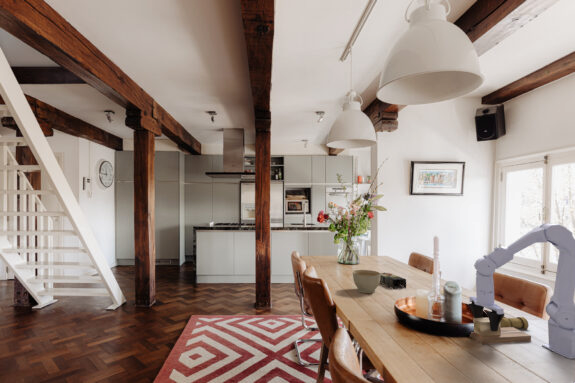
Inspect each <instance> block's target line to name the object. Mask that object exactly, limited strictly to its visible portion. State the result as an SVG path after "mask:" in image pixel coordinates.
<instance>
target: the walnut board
mask: <svg viewBox="0 0 575 383" xmlns="http://www.w3.org/2000/svg"><path fill="white" fill-rule="evenodd" d="M469 338H472V339H473V340H475V341H477V343H480V344H482V345H487V344H488V345H491V344H506V343H507V344H508V343H520V342H521V343H522V342H532V335H530V334H528V333H526V332H523V331H522V330H520V329H519V328H513V327H505V328H501V335H490V336H480V335H479V334H477V333H475V332H471V334H470V336H469Z"/></svg>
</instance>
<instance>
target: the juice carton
mask: <svg viewBox="0 0 575 383" xmlns="http://www.w3.org/2000/svg"><path fill="white" fill-rule="evenodd" d="M380 273H381V276H380V282H381V284H382V283H383V284H382V285H384V284H385V285H384V286H386V285H387V286H386V287H388V286H389V287H388V288H390V287H391V288H390V289H392V288H393V290H394V289H395V284H397V285H400V287H403V288H407V279H406V278H404V277H402V276H399V275H395V274H393V273H390V272H380ZM380 282H379V283H380Z"/></svg>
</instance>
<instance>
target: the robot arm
mask: <svg viewBox="0 0 575 383" xmlns="http://www.w3.org/2000/svg"><path fill="white" fill-rule="evenodd" d="M573 235H574V234H573V232H572V231H571V230H569V229H568V228H567V227H565V226H564V225H562V224H553V223H549V222H546V223H542V224H541V225H539V226H537V227H534V228H533V229H531V230H529V231H528V232H526V234H524V235H522V236H521V237H520V238H518V239H517V240H515V241H514V242H511V244H509V245H508V246H506V247H505V246H499V247H497V246H495V247H494V248H493V251H491V252H489V253H488V254H487V255H486V254H484V255H483V256H482V258H481V257H480V258H477V260H475V263H474V265H473V266H474V269H475V270H476V271H475V292H476V296H469V302H470V303H468V307H469V308H470V310H471V312H472V315H473V318H483V315H484V314H483V310H485V309H484V308H486V310H487V309H488V312H487V315H488V316H487V318H489V321H490V329H491V331H497V330H498V327H499V324H500V321H501V319H502V318H503V317H505V312H504V308H502V307H500V305H498V304H497V303H496V302H495V285H494V283H495V282H494V280H495V279H494V274H495V272H496V269H500V268H501V267H503V266H504V265H506V264H508V263H510V262H511V261H513V260H514V257H515V256H514V255H515V254H517V253H519V252H521V251H523V250H525V249H527V248H528V247H531V246H532V245H533V244H536V243H550V244H551V245H552V246H553V247H555V249H557V250H558V251H559V252H558V260H557V269H556V274H555V280H554V281H555V282H554V289H553V294H552V295H551V297H550V299H549V302H548V303H547V305H546V306H545V312H546V314H547V315H548V316H549V318H548V319H547V329H548V330H547V331H548V332H547V333H548V334H547V335H548V343H545V344H543V343H542V344H541V346H542V347H544V348H545V349H548V350H550V351H551V352H554V353H555V354H559V355H560V356H563V357H564V358H566V359H575V301H574V296H575V238H574V236H573Z"/></svg>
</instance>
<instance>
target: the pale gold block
mask: <svg viewBox="0 0 575 383" xmlns="http://www.w3.org/2000/svg"><path fill="white" fill-rule="evenodd" d="M472 321H473V324H474V332H475V333H477V334H479V335H480V336H490V335H501V324H499V327H498V330H497V331H491V329H490V321H489V317H482V318H474V317H473V319H472ZM473 324H472V325H473Z"/></svg>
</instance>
